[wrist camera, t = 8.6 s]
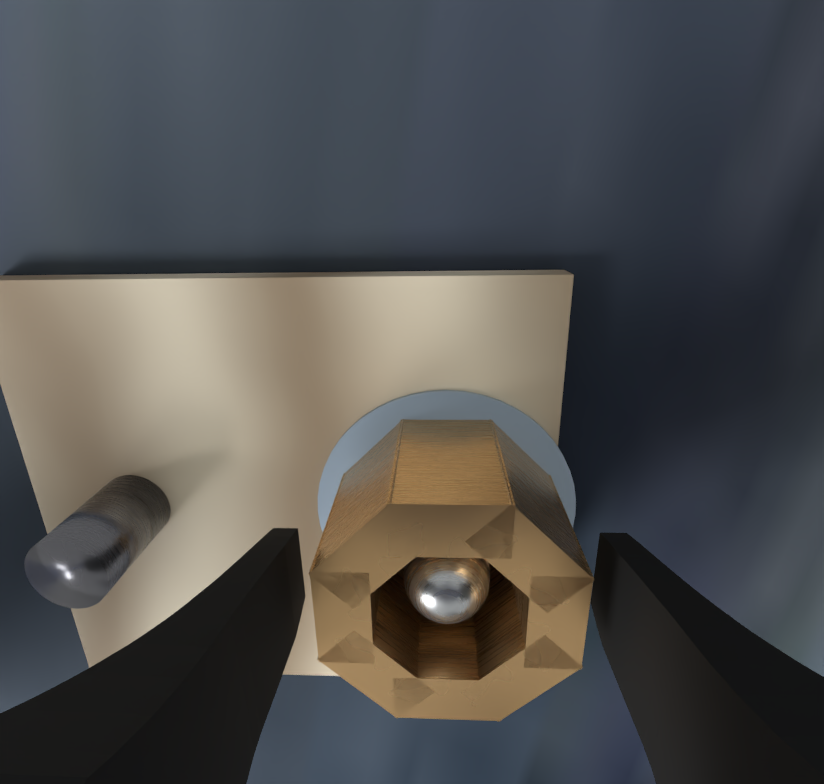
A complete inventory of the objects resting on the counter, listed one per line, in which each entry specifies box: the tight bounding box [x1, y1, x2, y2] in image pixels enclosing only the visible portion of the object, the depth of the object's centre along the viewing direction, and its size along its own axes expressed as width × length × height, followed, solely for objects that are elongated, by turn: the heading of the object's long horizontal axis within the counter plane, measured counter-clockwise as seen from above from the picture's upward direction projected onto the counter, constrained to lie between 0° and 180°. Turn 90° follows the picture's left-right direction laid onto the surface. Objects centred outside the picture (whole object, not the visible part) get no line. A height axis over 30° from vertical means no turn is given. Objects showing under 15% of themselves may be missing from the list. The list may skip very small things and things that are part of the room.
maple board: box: [0, 270, 574, 676], centre depth 15 cm, size 15×13×1 cm
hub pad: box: [318, 390, 576, 532], centre depth 14 cm, size 7×7×1 cm
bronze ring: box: [308, 419, 594, 722], centre depth 12 cm, size 6×6×4 cm
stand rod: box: [24, 475, 171, 609], centre depth 13 cm, size 2×2×3 cm
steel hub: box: [404, 557, 490, 624], centre depth 13 cm, size 2×2×4 cm
